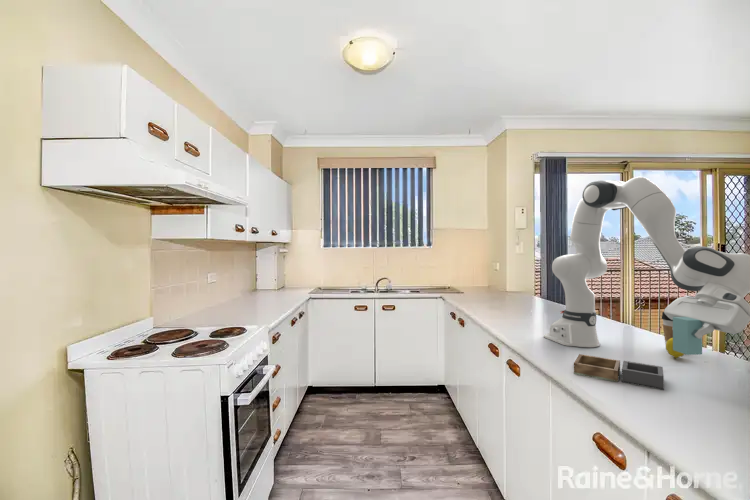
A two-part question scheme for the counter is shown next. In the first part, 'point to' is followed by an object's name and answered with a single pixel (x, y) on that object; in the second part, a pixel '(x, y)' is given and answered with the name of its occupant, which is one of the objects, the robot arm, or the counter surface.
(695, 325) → the teal block
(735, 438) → the counter surface
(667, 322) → the coffee cup
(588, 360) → the walled bay
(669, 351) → the lemon
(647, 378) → the box
